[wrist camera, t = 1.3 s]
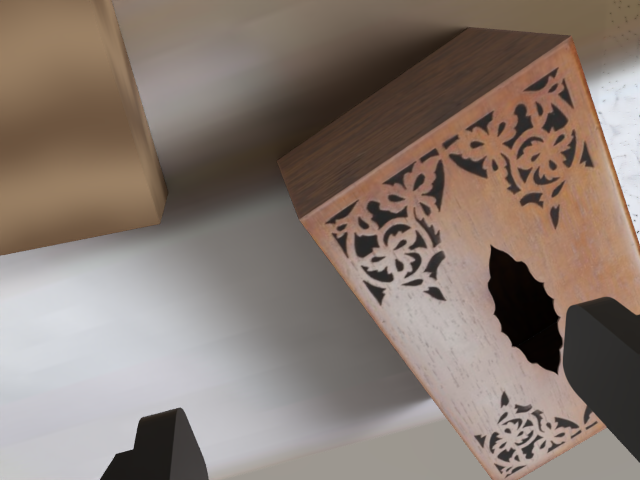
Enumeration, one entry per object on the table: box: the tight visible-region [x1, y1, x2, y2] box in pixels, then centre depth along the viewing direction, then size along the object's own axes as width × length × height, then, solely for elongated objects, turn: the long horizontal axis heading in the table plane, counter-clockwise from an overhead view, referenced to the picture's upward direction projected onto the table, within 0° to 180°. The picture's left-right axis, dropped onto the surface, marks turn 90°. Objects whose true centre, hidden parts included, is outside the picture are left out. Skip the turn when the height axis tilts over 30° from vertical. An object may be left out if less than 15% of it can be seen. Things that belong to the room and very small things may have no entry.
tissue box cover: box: [277, 27, 640, 480], centre depth 32 cm, size 26×14×10 cm, turn 33°
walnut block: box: [0, 0, 168, 256], centre depth 25 cm, size 12×12×5 cm
